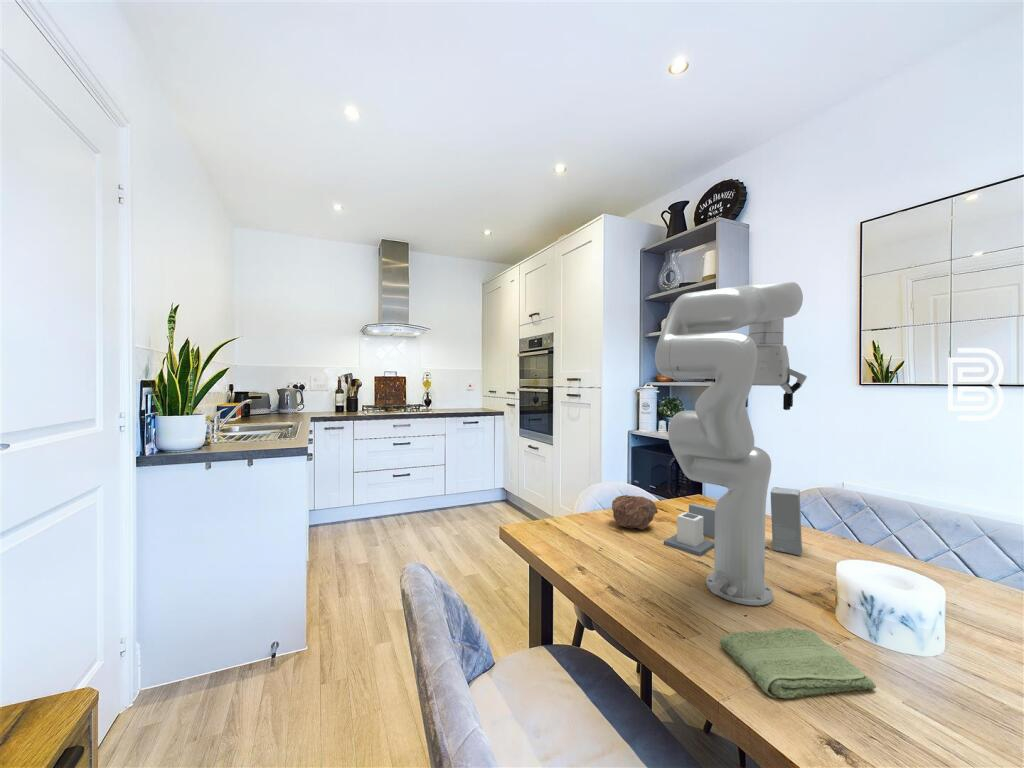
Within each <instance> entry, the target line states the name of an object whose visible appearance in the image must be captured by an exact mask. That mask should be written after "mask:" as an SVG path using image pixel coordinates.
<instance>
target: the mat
mask: <svg viewBox="0 0 1024 768" xmlns="http://www.w3.org/2000/svg"><path fill="white" fill-rule="evenodd" d="M714 542H715V541H713V540H709V539H706V538H703V542H702V543H701V544H699V545H697V546H696V547H694V546H691V545H687V544H684V543H681V542H678V541H677V533H676V534H674V535H672V536H670V537H668V538H666V539H664V540H663V545H664V546H667V545H668V547H671V548H673V547H674V548H673V549H676V548H677V550H679V549H680V550H679V551H682V550H683V552H685V551H686V552H685V553H689V554H692V555H695V556H699V557H701V556H703V555H704V554H706V553H708V552H710V551H711V550H713V549H714Z"/></svg>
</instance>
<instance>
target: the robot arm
mask: <svg viewBox="0 0 1024 768" xmlns="http://www.w3.org/2000/svg"><path fill="white" fill-rule="evenodd" d="M803 298H804V297H803V290H802V288H801V287H800V285H799V284H798V283H797V282H795V281H794V282H793V281H791V282H782V283H771V284H770V283H769V284H750V285H748V284H747V285H739V286H730V287H721V288H716V289H715V288H714V289H708V290H699V291H692V292H686V293H683V294H681V295H680V296H678V297H677V298H676V300H675V301H674V302H673V303H672V305H671V307H670V309H669V312H668V314H667V317H666V318H665V321H664V323H663V327H662V330H661V333H660V336H659V338H658V341H657V344H656V348H655V354H654V363H655V367H656V369H657V372H658V373H660V374H661V376H663V377H665V378H668V379H677V380H681V379H683V380H684V379H686V380H687V379H690V380H692V379H693V380H694V379H700V380H705V379H706V380H707V379H708V380H714V379H715V382H713V383H712V384H710V386H708V387H707V388H706V389H705V390H704V391H703V392H702V393H701V395H700V396H699V397H698V398H697V400H696V402H695V406H694V409H695V410H680V411H678V412H676V413H675V414H674V415H672V418H671V419H670V421H669V424H668V428H667V429H668V431H667V432H668V433H667V435H668V443H669V447H670V449H671V451H672V453H673V455H674V457H675V459H676V462H677V463H678V464H679V467H680V469H681V470H682V473H683V474H684V475H685V477H686V478H688V479H689V480H690V481H693V482H699V483H701V484H703V483H704V484H710V485H714V486H719V487H724V488H727V490H728V491H727V492H725V493H724V494H723V495H722V496H720V498H718V500H717V502H716V503H715V507H714V509H715V539H714V541H713V542H714V548H713V549H714V550H713V551H714V554H713V559H714V560H713V562H714V563H713V565H714V566H713V572H712V573H709V574H708V575H706V578H705V583H706V587H707V588H708V590H710V591H711V593H712V594H713V595H716V596H718V597H719V598H722V599H724V600H727V601H730V602H732V603H736V604H740V605H746V606H757V607H758V606H765V605H768V604H770V603H771V602H772V601H773V599H774V592H773V589H772V588H771V587H770V586H768V585H767V584H766V583H765V570H766V569H765V564H766V563H765V562H766V513H767V512H766V511H767V510H766V508H767V496H768V488H769V484H770V479H771V473H772V460H771V457H770V455H769V454H768V453H767V452H766V451H765V450H764V449H762V448H760V447H759V446H758V447H757V446H755V435H754V431H753V428H752V424H751V421H750V417H749V415H748V410H747V408H748V407H749V404H748V402H749V401H748V400H749V398H748V397H749V394H750V392H751V390H752V387H753V386H762V387H763V386H766V387H767V386H769V387H771V386H773V387H774V386H775V387H776V386H779V387H781V388H782V390H783V391H784V393H783V402H782V405H783V406H782V409H783V410H784V411H790V410H791V408H792V407H793V406H794V405H793V404H794V403H793V402H794V394H795V393H796V391H798V390H799V389H800V388H802V386H803V384H804V383H805V381H806V380H807V378H808V377H807V375H805V374H804V373H800V372H799V371H796V370H794V369H792V368H790V357H789V352H788V348H787V345H784V329H785V328H784V324H785V323H784V322H785V321H784V320H785V318H791V317H794V316H796V315H797V314H798V313H799V312H800V310H801V308H802V305H803V300H804V299H803ZM743 327H748V334H744V333H741V332H733V331H735V330H739V329H741V328H743ZM791 376H792V377H795V378H796V381H795V383H793V384H792V385H791V384H790V381H791V379H790V378H791Z"/></svg>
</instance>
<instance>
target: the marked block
mask: <svg viewBox="0 0 1024 768" xmlns="http://www.w3.org/2000/svg"><path fill="white" fill-rule="evenodd" d="M676 518H677V519H676V534H677V541H678V542H681V543H684V544H687V545H691V546H694V547H696V546H697V545H699V544H701V543H702V542H703V539H704V535H703V518H704V517H703V516H699V515H695V514H691V513H689V512H686V511H685V512H682V513H680V514H678V515H677V516H676Z"/></svg>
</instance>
